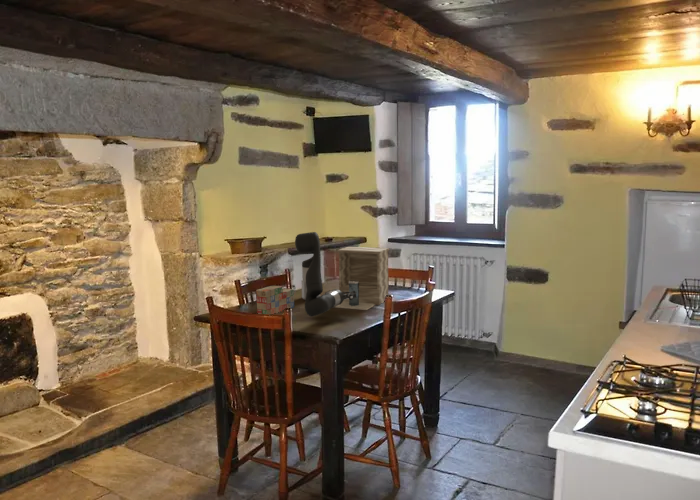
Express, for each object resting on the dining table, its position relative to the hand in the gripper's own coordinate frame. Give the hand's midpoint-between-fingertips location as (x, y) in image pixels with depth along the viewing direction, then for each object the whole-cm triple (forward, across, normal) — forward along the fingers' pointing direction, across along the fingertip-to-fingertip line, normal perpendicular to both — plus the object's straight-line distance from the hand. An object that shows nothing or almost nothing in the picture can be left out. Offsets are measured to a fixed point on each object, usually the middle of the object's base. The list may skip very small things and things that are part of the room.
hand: (346, 292), depth 276 cm
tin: (+10, 0, +8) cm, 13 cm away
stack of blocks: (-12, +32, +9) cm, 36 cm away
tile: (+10, 0, +9) cm, 13 cm away
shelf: (+24, 0, +9) cm, 25 cm away
